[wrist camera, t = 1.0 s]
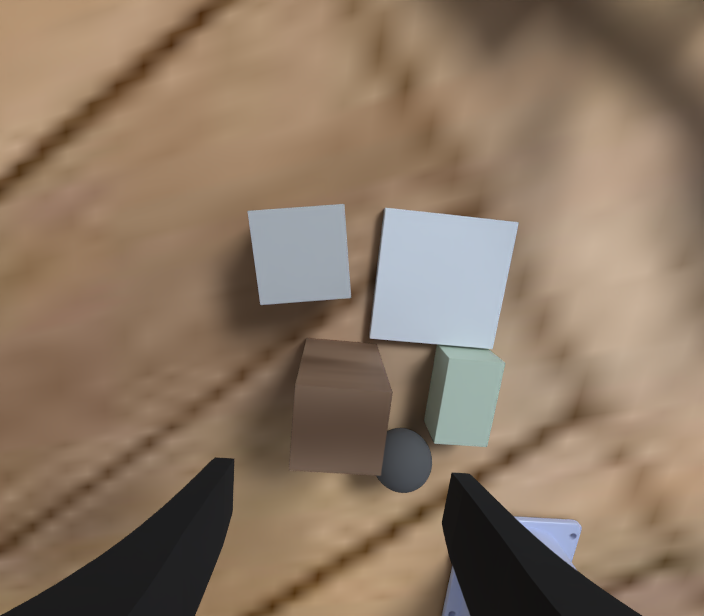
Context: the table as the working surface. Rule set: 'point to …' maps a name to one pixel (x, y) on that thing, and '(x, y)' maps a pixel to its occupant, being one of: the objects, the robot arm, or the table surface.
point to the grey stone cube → (300, 254)
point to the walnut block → (340, 409)
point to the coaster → (440, 278)
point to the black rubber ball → (405, 461)
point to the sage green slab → (463, 395)
